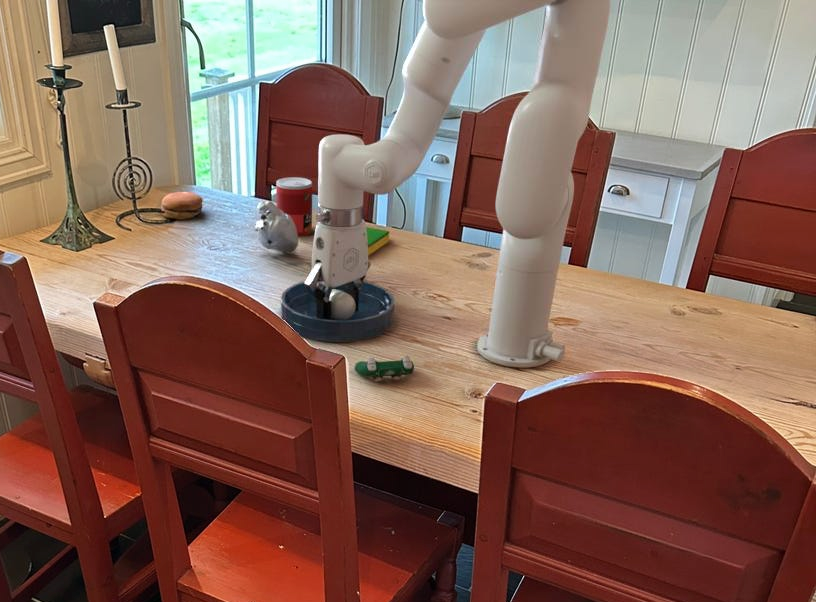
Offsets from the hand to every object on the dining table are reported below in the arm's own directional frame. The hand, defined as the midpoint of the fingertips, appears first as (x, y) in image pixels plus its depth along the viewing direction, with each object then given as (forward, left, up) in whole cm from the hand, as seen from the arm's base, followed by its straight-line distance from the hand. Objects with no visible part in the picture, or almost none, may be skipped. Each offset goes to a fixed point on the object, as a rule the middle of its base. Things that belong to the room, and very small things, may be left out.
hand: (337, 314), depth 152 cm
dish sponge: (+23, -32, -1) cm, 39 cm away
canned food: (+41, -29, -1) cm, 50 cm away
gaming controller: (-21, +11, -1) cm, 24 cm away
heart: (+31, -15, -1) cm, 34 cm away
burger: (+68, -18, -1) cm, 70 cm away
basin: (0, 0, -1) cm, 1 cm away
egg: (0, 0, -1) cm, 1 cm away
